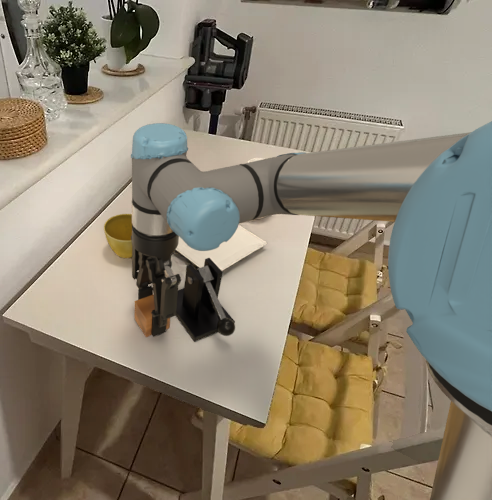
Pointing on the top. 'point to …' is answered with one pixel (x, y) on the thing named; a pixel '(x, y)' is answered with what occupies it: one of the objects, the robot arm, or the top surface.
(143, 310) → the brown wooden cube
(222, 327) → the lever
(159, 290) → the robot arm
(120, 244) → the yellow bowl
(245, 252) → the plate
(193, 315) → the black lever base
